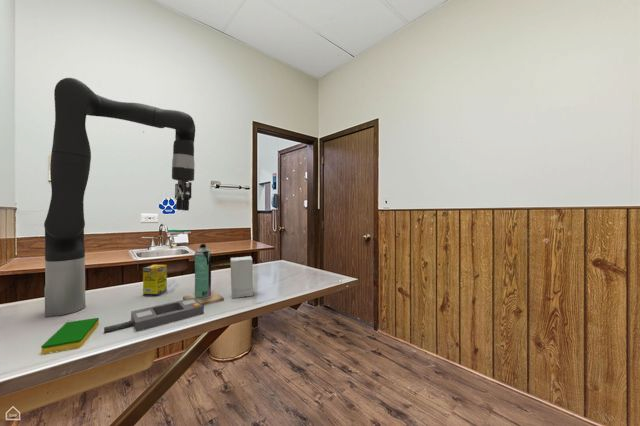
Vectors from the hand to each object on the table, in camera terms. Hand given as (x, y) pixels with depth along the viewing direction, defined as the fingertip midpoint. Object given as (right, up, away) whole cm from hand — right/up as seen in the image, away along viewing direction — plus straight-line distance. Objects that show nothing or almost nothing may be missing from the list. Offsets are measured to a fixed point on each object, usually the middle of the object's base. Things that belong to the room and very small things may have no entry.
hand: (182, 210), depth 96 cm
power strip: (+2, -34, -19) cm, 39 cm away
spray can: (+9, -33, -2) cm, 34 cm away
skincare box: (+22, -34, +3) cm, 40 cm away
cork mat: (+9, -34, -2) cm, 35 cm away
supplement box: (-13, -33, +4) cm, 36 cm away
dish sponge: (-13, -35, -30) cm, 47 cm away
